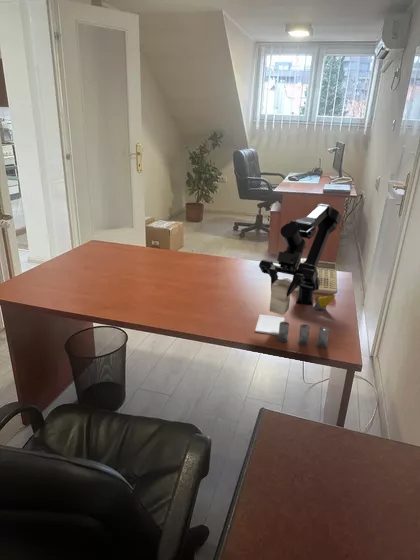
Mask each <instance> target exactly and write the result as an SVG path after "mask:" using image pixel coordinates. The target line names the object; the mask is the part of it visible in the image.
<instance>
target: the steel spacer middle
mask: <svg viewBox="0 0 420 560" xmlns="http://www.w3.org/2000/svg"><path fill="white" fill-rule="evenodd" d="M310 329H311V327H310V326H309V325H308V324H303V323H302V324H300V326H299V333H298V340H297V341H298V342H297V343H298V345H300V346H307V345H308V343H309V336H310Z"/></svg>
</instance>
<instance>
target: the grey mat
mask: <svg viewBox="0 0 420 560" xmlns="http://www.w3.org/2000/svg"><path fill="white" fill-rule="evenodd" d="M258 316H259V317H258V320H257V323H256V326H255V331H254V332H255V333H260V334H261V333H262V334H267V335H274V336H279V326H280V322H285V321H286V320H285V319H286V318H285V317H284V316H283V317H282V316H273V315H268V314H267V315H266V314H259V315H258Z"/></svg>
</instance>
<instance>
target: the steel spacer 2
mask: <svg viewBox="0 0 420 560" xmlns="http://www.w3.org/2000/svg"><path fill="white" fill-rule="evenodd" d="M318 329H319V331H318V336H317V337H318V338H317V342H316V343H317V344H316V346H317V347H318V348H319V349H326V348H327V346H328V340H329V335H330V329H329V328H328V327H326V326H320V327H319V328H318Z"/></svg>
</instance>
